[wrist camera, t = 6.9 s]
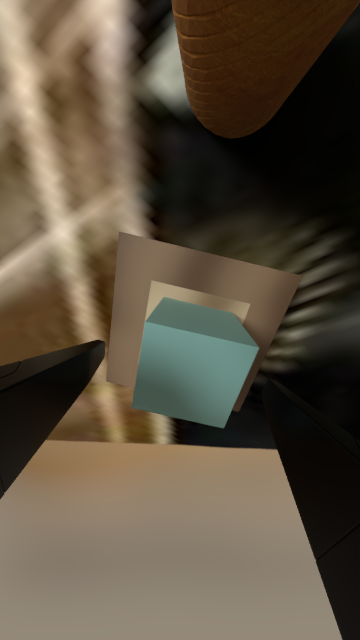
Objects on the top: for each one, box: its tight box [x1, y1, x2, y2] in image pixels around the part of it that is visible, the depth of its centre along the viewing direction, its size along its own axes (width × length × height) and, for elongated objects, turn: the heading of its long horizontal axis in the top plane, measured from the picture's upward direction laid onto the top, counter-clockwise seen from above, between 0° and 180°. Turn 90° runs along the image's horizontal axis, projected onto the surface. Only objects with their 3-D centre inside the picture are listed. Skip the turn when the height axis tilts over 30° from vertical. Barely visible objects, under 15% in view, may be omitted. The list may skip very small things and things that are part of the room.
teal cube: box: [132, 297, 259, 428], centre depth 10 cm, size 5×5×5 cm
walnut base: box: [106, 232, 302, 412], centre depth 14 cm, size 12×12×2 cm
